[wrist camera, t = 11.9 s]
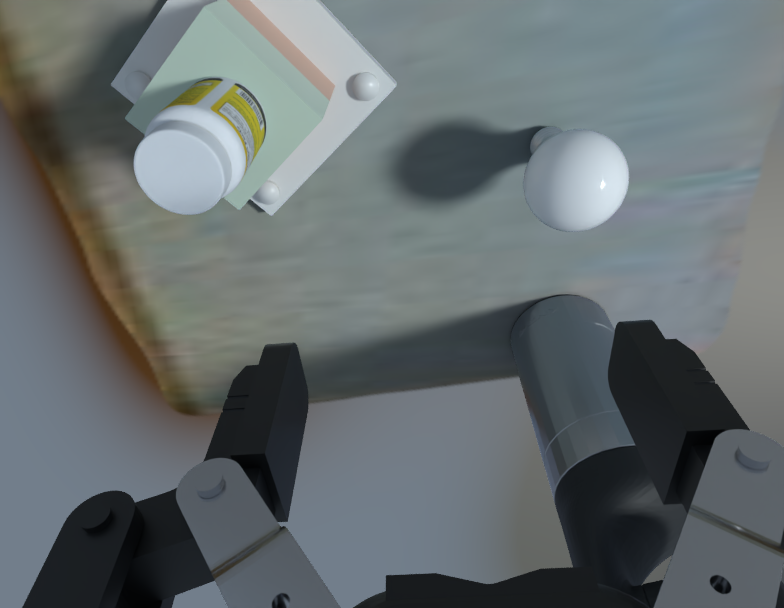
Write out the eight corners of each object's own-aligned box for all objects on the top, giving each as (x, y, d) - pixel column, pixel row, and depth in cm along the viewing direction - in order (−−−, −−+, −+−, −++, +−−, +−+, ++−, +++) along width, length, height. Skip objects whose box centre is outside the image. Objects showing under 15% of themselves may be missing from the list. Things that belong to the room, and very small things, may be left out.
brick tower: (396, 81, 38) (397, 119, 31) (274, 209, 44) (249, 268, 36) (234, -92, 33) (186, -98, 25) (117, 80, 38) (49, 118, 31)
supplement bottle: (178, 142, 32) (117, 202, 25) (190, 61, 29) (126, 102, 22) (259, 170, 33) (222, 236, 26) (277, 94, 30) (242, 143, 23)
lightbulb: (595, 164, 42) (651, 229, 33) (515, 192, 43) (547, 263, 34) (580, 84, 38) (637, 131, 29) (493, 117, 40) (523, 173, 31)
